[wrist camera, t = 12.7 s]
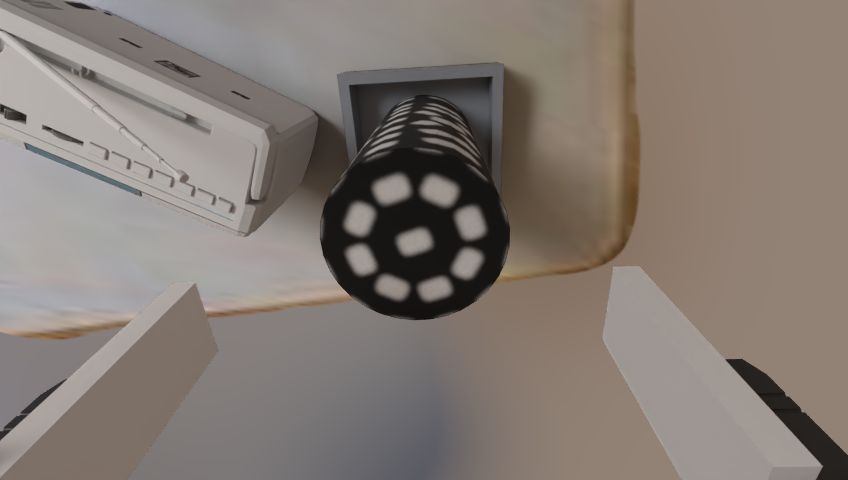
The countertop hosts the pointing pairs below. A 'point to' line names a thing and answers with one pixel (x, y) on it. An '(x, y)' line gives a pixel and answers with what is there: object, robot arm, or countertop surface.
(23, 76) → the stereo radio cassette player
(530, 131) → the countertop surface
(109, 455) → the robot arm
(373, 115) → the tray
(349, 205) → the spotted tube
